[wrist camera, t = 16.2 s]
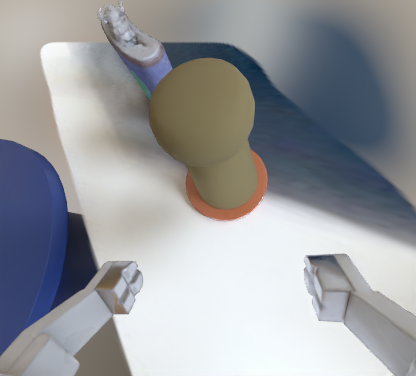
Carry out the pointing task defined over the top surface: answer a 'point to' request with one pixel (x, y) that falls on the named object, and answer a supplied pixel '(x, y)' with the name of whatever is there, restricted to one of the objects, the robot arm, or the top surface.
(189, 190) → the coaster
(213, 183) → the cork
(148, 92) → the flask
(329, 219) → the top surface
